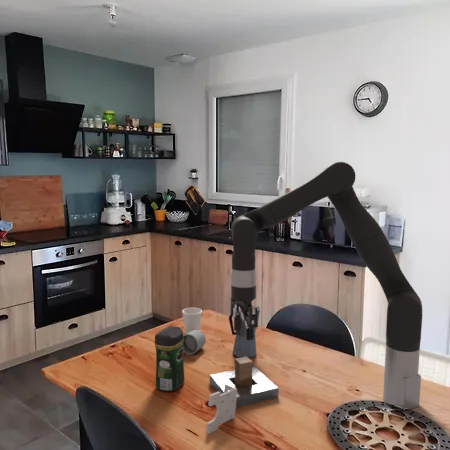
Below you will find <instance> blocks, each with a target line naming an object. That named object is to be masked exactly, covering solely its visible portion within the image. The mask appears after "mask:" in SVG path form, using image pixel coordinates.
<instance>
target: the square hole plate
mask: <svg viewBox="0 0 450 450" xmlns="http://www.w3.org/2000/svg"><path fill="white" fill-rule="evenodd" d="M225 384H226V385H228V386H231V387H233V388H236V389H237V398H236V408H238V407H243V406H247V405H251V404H255V403H261V402H265V401H268V400H272V399H278V398H279V390H280V389H279V387H278V386H277V385H276V383H274V382H273V381H272V380H270V378H268V377H267V376H266V375H265V374H264V373H262V372H261V371H260V370H259V369H258V368H257V367H256V366H253V365H252V386H247V387H242V388H237V387H236V386H235V369H233V370H228V371H223V372H218V373H213V374H209V385H210V386H211V387H212V388H213V390H214V391H215V393H216V392H218V391H219V392H220V394H222V393H224V388H225ZM228 391H230V390H228Z"/></svg>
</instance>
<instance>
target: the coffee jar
mask: <svg viewBox="0 0 450 450" xmlns="http://www.w3.org/2000/svg"><path fill="white" fill-rule="evenodd" d="M183 335H184V331H183V329H182V328H181V327H180V326H174V325H168V326H167V327H164V328H163V329H161V330H159V331H158V332H157V333H155V335H154V347H155V363H156V364H155V387H156V389H158V390H159V391H162V392H175V391H177V389H179V388H180V387H182V385H183V384H184V382H185V367H184V352H183V339H184V337H183Z"/></svg>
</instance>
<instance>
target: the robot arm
mask: <svg viewBox="0 0 450 450" xmlns="http://www.w3.org/2000/svg"><path fill="white" fill-rule="evenodd" d="M356 176H357V175H356V172H355V169H354V167H353V166H351V164H349V163H348V162H345V161H336V162H332V163H331V164H329V165H327V167H326V168H324V170H322V171H321V172H320V173H319V174H318V175H316V176H315V177H313V178H312V179H310V180H309V181H307V182H306V183H303V184H302V185H300V186H298V187H296V188H294V189H292V190H290V191H287V192H286V193H284V194H282V195H279V196H277V197H276V198H274V199H272V200H271V201H268V202H267V203H265V204H262V206H260V207H258V208H256V209H253V210H250V211H249V212H246V213H243V214H242V215H239V216H238V217H236V218H235V219H234V220H233V221H232V223H231V226H230V231H231V232H232V249H233V251H232V255H231V274H230V315H233V316H232V320H233V329H234V332H236V331H240V330H241V317H242V320H243V321H244V322H245V325H246V340H248V341H249V340H253V339H254V328H256V327H257V328H258V327H259V319H258V310H257V307H254V308H253V307H252V306H253V304H252V302H253V301H254V300H256V298H257V272H256V247H257V245H256V244H257V234H258V233H259V232H260V231H263V230H264V229H269V228H273V227H275V226H277V225H279V224H281V223H283V222H285V221H286V220H288V219H290V218H292V217H293V216H295V215H296V214H298V213H300V212H301V211H303V210H304V209H306V208H308V207H309V206H311V205H313V204H314V203H317V202H319V201H321V200H323V199H325V198H328V200H329V201H330V202H331V204H332V205H333V207H334V209H335V210H336V211H337V213H338V215H339V218H340V219H341V222H342V224H343V226H344V228H345V231H346V232H347V235H348V237H349V238H350V240H351V242H352V244H353V247H354V248H355V250H356V252H357V254H358V256H359V257H360V259H361V260H362V262H363V263H364V265H365V266H366V267H367V269H368V270H369V271H370V272H371V273H372V275H373V276H374V277H375V278H376V279H377V282H378V283H379V284H380V287H381V288H382V291H383V294H384V296H385V298H386V301H387V309H386V325H385V326H386V331H385V353H384V355H385V357H384V372H383V373H384V374H383V393H382V394H383V395H382V399H383V401H384V403H385V404H387V403H389V404H392V405H398V406H400V407H402V408H408V410H410V409H414V408H418V407H420V400H421V383H422V375H420V374H419V369H420V368H419V367H420V352H421V351H420V350H421V342H422V341H421V339H422V327H423V304H422V300H421V298H420V296H419V295H418V294H417V292H416V290H415V289H414V288H413V286H412V285H411V284H410V282H409V281H408V279H407V277H406V276H405V274H404V273H403V271H402V269H401V267H400V263H399V262H398V260H397V257H396V254H395V251H394V250H393V248H392V247H391V245H390V243H389V242H390V241H389V240H388V238H387V236H386V235H385V233H384V231H383V229H382V228H381V226H380V224H379V223H378V222H377V221H376V219H375V218H374V217H373V216H372V214H371V213H370V212H369V211H368V210H367V209H366V208H365V206H364V205H362V203H361V201H360V200H359V198H358V196H357V194H356V191H355V190H354V187H353V186H354V184H355V182H356ZM233 310H234V311H233ZM246 317H247V318H246ZM254 320H255V323H254ZM248 321H249V324H248ZM389 404H388V405H389Z"/></svg>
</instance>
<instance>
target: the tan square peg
mask: <svg viewBox="0 0 450 450" xmlns="http://www.w3.org/2000/svg"><path fill="white" fill-rule="evenodd" d="M252 367H253V361H252V360H251V358H248V357H247V356H246V357H237V358H234V370H235V386H236V387H237V388H242V387H247V386H252Z"/></svg>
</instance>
